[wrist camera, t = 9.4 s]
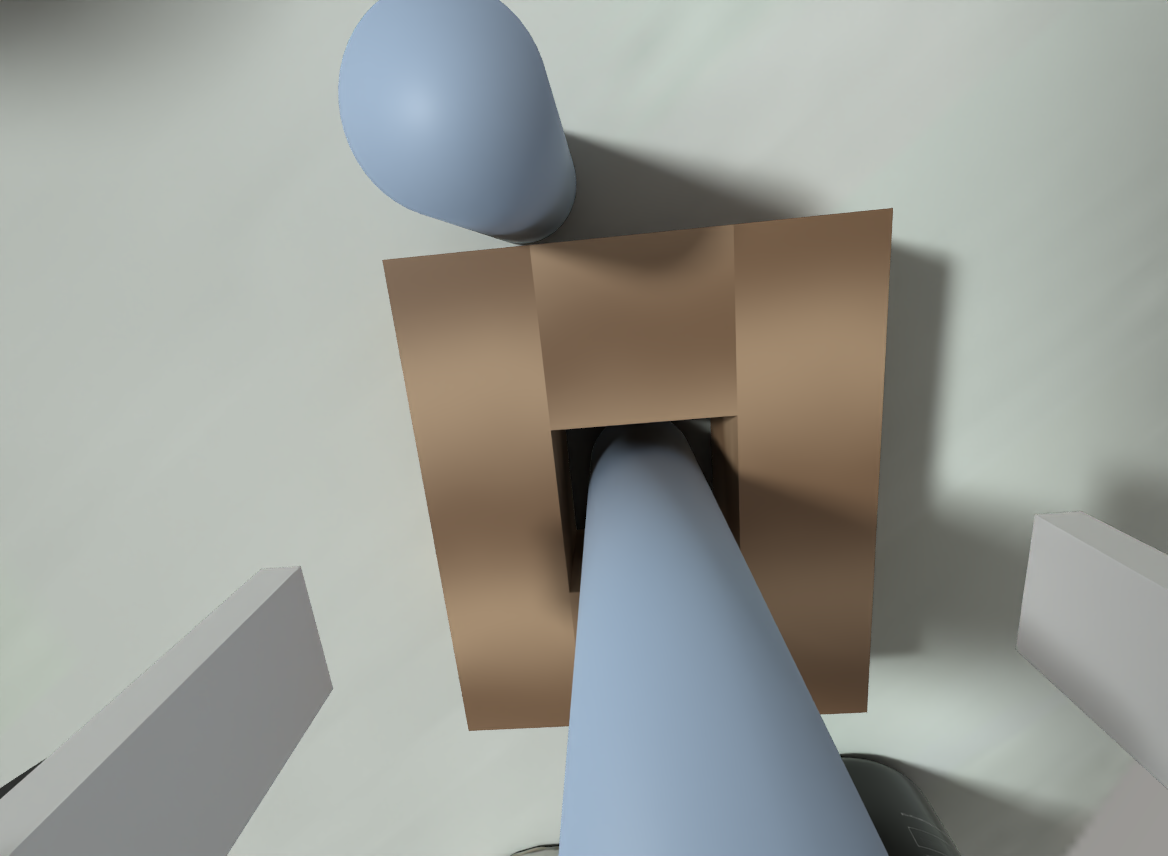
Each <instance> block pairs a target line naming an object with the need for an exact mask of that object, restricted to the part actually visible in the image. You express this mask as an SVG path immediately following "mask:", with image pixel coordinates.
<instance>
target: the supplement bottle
mask: <svg viewBox="0 0 1168 856" xmlns="http://www.w3.org/2000/svg"><path fill="white" fill-rule="evenodd" d="M841 759H842V761H843V763H844V765H845V767H846V769H847V771H848V773H849V775H850V777H851V779H852V781H853V783H854V785H855V787H856V789H857V791H858V794H859V796H860V798H861V800H862V802H863V804H864V806H865V808H866V810H867V812H868V814H869V816H870V818H871V820H872V822H873V824H874V826H875V828H876V831H877V833H878V835H879V837H880V839H881V841H882V843H883V845H884V847H885V849H886V851H887V853H888V855H889V856H961V855H960V853H959V851H958V850H957V848H956V846H955V845H954V843H953V841H952V840H951V838H950V836H949V835H948V833H947V831H946V830H945V828H944V826H943V825H942V823H941V821H940V820H939V818H938V817H937V815H936V813H935V812H934V810H933V808H932V807H931V805H930V804H929V802H928V800H927V799H926V797H925V796H924V795H923V793H922V792H921V791H920V789H919V788H918V787H917V786H916V785H915V784H914V783H913V782H912V781H911V780H910V779H908V778H907V777H906V776H904V775H903V774H902V773H900V772H898V771H897V770H895V769H893V768H891V767H889V766H887V765H884V764H881V763H879V762H875V761H872V760H867V759H861V758H849V757H843V758H841Z"/></svg>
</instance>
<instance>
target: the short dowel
mask: <svg viewBox="0 0 1168 856" xmlns="http://www.w3.org/2000/svg"><path fill="white" fill-rule="evenodd" d="M338 90H339V108H340V115H341V120H342V124H343V128H344V132H345V135H346V138H347V140H348V143H349V146H350V148H351V150H352V152H353V154H354V156H355V158H356V160H357V161H358V163H359V164H360V166H361V167H362V169H363V171H364V172H365V173H366V175H367V176H368V177H369V178H370V179H371V181H372V182H373V183H374V184H375V185H376V186H377V187H378V188H379V189H380V190H381V191H382V192H384V193H385V194H386V195H387V196H389V197H390V198H391V199H393V200H394V201H395V202H397V203H399V204H401V205H402V206H404V207H406V208H408V209H410V210H413V211H415V212H418V213H420V214H423V215H426V216H429V217H432V218H435V219H439V220H442V221H445V222H448V223H451V224H454V225H457V226H460V227H463V228H466V229H469V230H472V231H476V232H479V233H482V234H485V235H488V236H491V237H494V238H497V239H500V240H503V241H507V242H511V243H518V244H522V243H531V242H536V241H539V240H541V239H543V238H546V237H547V236H549V235H550V234H552V233H553V232H555V231H556V230H557V229H558V228H559V227H560V226H561V225H562V223H563V222H564V221H565V219H566V218H567V216H568V215H569V213H570V211H571V208H572V206H573V203H574V199H575V194H576V174H575V168H574V165H573V161H572V158H571V154H570V151H569V148H568V144H567V141H566V138H565V134H564V131H563V128H562V124H561V121H560V118H559V114H558V111H557V108H556V104H555V101H554V98H553V94H552V91H551V87H550V84H549V81H548V77H547V74H546V71H545V67H544V64H543V61H542V58H541V56H540V53H539V51H538V49H537V46H536V44H535V43H534V41H533V39H532V37H531V35H530V34H529V32H528V31H527V29H526V28H525V26H524V25H523V24H522V22H521V21H520V20H519V18H518V17H517V16H516V15H515V14H514V13H513V12H512V11H511V10H510V9H509V8H508V7H507V6H506V5H504V4H503V3H502V2H501V1H499V0H379V1H378V2H376V3H375V4H374V5H373V6H372V7H371V8H370V9H369V10H368V11H367V13H366V14H365V15H364V16H363V17H362V19H361V20H360V22H359V23H358V25H357V26H356V27H355V29H354V31H353V33H352V35H351V37H350V39H349V41H348V44H347V47H346V50H345V52H344V55H343V59H342V64H341V68H340V75H339V85H338Z"/></svg>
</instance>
